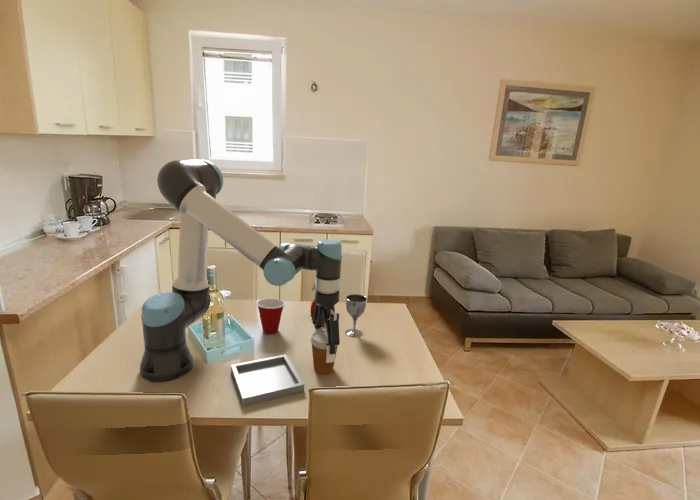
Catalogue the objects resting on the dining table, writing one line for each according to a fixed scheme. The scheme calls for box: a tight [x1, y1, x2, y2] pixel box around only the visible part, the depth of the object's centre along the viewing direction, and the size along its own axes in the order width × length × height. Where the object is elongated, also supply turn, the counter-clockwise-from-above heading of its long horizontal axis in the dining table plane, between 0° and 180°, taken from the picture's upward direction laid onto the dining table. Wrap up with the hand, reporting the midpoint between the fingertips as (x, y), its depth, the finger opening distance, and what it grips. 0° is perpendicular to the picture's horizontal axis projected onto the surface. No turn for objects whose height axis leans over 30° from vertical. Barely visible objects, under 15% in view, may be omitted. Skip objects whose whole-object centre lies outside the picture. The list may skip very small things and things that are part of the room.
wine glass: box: [344, 293, 368, 338], centre depth 150 cm, size 8×8×15 cm
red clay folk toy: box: [310, 283, 316, 319], centre depth 162 cm, size 8×7×15 cm
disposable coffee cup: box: [309, 329, 339, 375], centre depth 125 cm, size 10×10×12 cm
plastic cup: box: [256, 298, 286, 335], centre depth 148 cm, size 11×11×12 cm
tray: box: [230, 353, 305, 407], centre depth 118 cm, size 18×18×2 cm
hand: (324, 354), depth 125 cm, fingers closed on disposable coffee cup, 9 cm apart
